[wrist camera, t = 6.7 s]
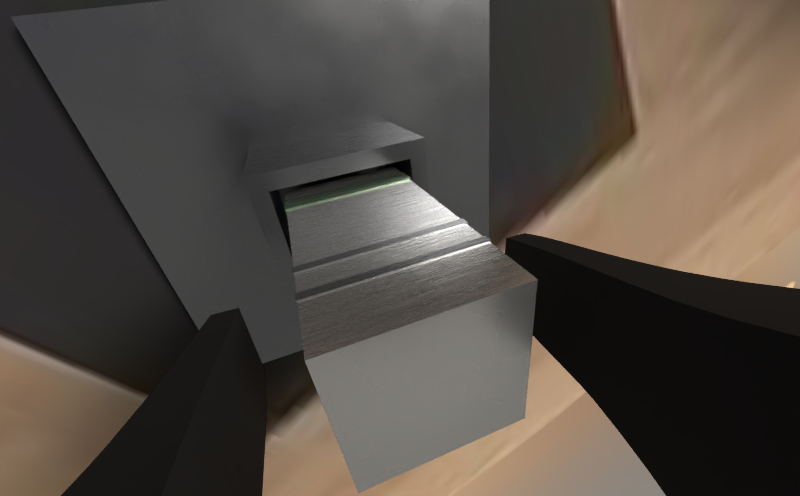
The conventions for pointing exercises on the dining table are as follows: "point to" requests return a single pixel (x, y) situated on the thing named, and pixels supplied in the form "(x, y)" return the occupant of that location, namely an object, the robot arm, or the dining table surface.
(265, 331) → the stand
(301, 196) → the column
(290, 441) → the dining table surface
